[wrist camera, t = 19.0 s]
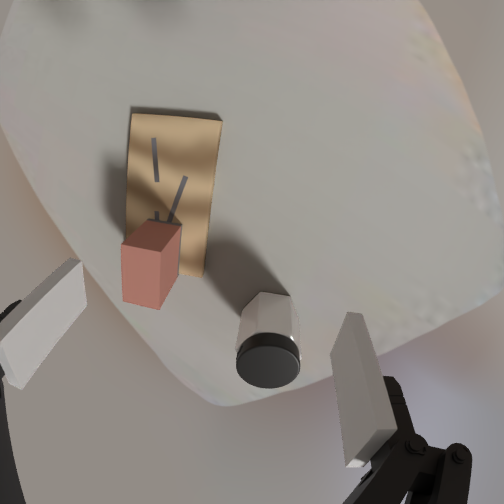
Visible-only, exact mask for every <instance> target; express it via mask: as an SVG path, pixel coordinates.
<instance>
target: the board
mask: <svg viewBox="0 0 504 504" xmlns="http://www.w3.org/2000/svg"><path fill="white" fill-rule="evenodd" d="M222 123H223V121H218V120H210V119H201V118H192V117H181V116H170V115H156V114H140V113H133V114H132V120H131V130H130V142H129V155H128V171H127V195H126V239H127V238H128V237H129V236H130V235H131V234H132V233H133V232H134V231H135V230H136V229H138V228H139V227H140V226H141V225H142V224H143V223H144V222H145V221H146V220H147V219H148V218H150V219H155V220H161V221H167V222H172V223H178V224H183V225H182V236H181V248H180V261H179V274H184V275H189V276H195V277H200V278H202V277H203V274H204V266H205V256H206V247H207V238H208V229H209V220H210V212H211V203H212V195H213V187H214V180H215V172H216V165H217V157H218V150H219V143H220V136H221V130H222Z"/></svg>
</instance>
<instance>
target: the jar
mask: <svg viewBox="0 0 504 504" xmlns="http://www.w3.org/2000/svg"><path fill="white" fill-rule="evenodd" d="M235 350H236V352H237V358H236V369H237V372H238V374H239V375H240V377H241V378H242V379H243V380H244V381H246V382H247V383H249V384H251V385H253V386H256V387H260V388H278V387H282V386H285V385H287V384H289V383H290V382H292V381H293V380H294V379H295V378H296V377H297V375H298V374H299V371H300V360H301V359H302V352H301V337H300V323H299V317H298V314H297V312H296V309H295V307H294V304H293V302H292V299H291V297H290V296H286V295H279V294H273V293H267V292H259V294H258V295H257V296H256V297H255V298H254V299H253V300H252V301H251V302H250V303H249V304H248V305H247V306H246V307H245V308H244V309H243V310H242V314H241V320H240V325H239V331H238V336H237V342H236V347H235Z"/></svg>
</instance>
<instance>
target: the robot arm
mask: <svg viewBox="0 0 504 504" xmlns="http://www.w3.org/2000/svg"><path fill="white" fill-rule="evenodd" d="M86 306H87V301H86V294H85V286H84V277H83V268H82V261H81V260H77V259H73V258H69V259H68V260H67V261H66V262H65V263H63V264H62V265H61V266H60V267H59V268H58V269H56V270H55V271H54V272H53V273H52V274H51V275H50V276H48V277H47V278H46V279H45V280H44V281H43V282H42V283H41V284H40V285H39V286H37V287H36V288H35V289H34V290H33V291H32V292H31V293H30V294H29V295H28V296H27V297H26V298H25V299H24V300H18V301H16V302H14V303H12V304H11V305H9V306H8V307H7V308H6V309H5V310H4V312H2V313H1V314H0V504H26V502H25V499H24V496H23V492H22V489H21V485H20V481H19V478H18V474H17V469H16V465H15V461H14V456H13V451H12V446H11V441H10V435H9V429H8V422H7V415H6V406H5V398H4V386H3V382H2V377H3V376H4V375H5V376H6V378H7V380H8V382H9V384H11V385H13V386H15V387H17V388H19V389H20V390H22V389H23V388H24V386H25V385H26V383H27V382H28V381H29V379H30V378H31V377H32V375H33V374H34V372H35V371H36V370H37V368H38V367H39V366H40V364H41V363H42V362H43V360H44V359H45V358H46V356H47V355H48V353H49V352H50V351H51V350H52V348H53V347H54V346H55V345H56V343H57V342H58V341H59V339H60V338H61V337H62V336H63V334H64V333H65V332H66V331H67V329H68V328H69V327H70V325H71V324H72V323H73V322H74V321H75V319H76V318H77V317H78V316H79V314H80V313H81V312H82V311H83V310H84V308H85V307H86ZM330 357H331V363H332V370H333V376H334V382H335V389H336V396H337V402H338V410H339V417H340V424H341V432H342V440H343V449H344V457H345V467H364V466H365V465H366V464H367V463H368V462H369V461H371V467H372V468H371V469H370V471H368V472H367V473H366V474H365V475H364V476H363V477H362V478H361V482H360V483H359V484H358V486H357V487H356V488H355V489H354V491H353V492H352V493H351V494H350V495H349V497H348V498H347V499H346V500H345V502H343V504H400V503H401V502H402V500H403V498H404V497H405V495H406V493H407V492H408V494H407V497H406V501H405V504H467V500H468V494H469V486H470V477H471V468H472V454H471V452H470V451H469V449H468V448H467V447H466V446H465V445H462V444H461V443H454V444H451V445H450V446H449V447H448V448H447V449H446V450H445V449H440V448H435V447H431V446H428V444H427V442H426V440H425V439H424V438H423V437H421V436H420V435H418V434H416V433H415V431H414V427H413V424H412V421H411V417H410V414H409V411H408V408H407V405H406V402H405V399H404V397H403V393H402V390H401V386H400V385H399V383H398V382H397V381H396V380H395V378H394V377H389V376H382V373H381V369H380V366H379V363H378V360H377V357H376V354H375V351H374V347H373V344H372V341H371V338H370V335H369V332H368V329H367V326H366V324H365V321H364V318H363V315H362V314H359V313H353V312H347V314H346V317H345V319H344V322H343V324H342V327H341V329H340V332H339V334H338V337H337V339H336V341H335V344H334V346H333V349H332V351H331V353H330Z"/></svg>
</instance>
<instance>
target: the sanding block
mask: <svg viewBox="0 0 504 504" xmlns="http://www.w3.org/2000/svg"><path fill="white" fill-rule="evenodd" d="M182 225H183V224H178V223H172V222H167V221H161V220H155V219H150V218H148V219H147V220H146V221H145V222H144V223H143V224H142V225H141V226H140V227H139V228H138V229H136V230H135V231H134V232H133V233H132V234H131V235H130V236H129V237H128V238H127V239H126V240H125V241H124V242H123V243H122V244H121V271H122V293H123V301H124V302H128V303H132V304H136V305H140V306H144V307H148V308H152V309H157V310H160V308H161V306H162V304H163V302H164V301H165V299H166V297H167V295H168V293H169V291H170V290H171V288H172V286H173V284H174V282H175V281H176V279H177V277H178V275H179V261H180V248H181V236H182Z"/></svg>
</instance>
